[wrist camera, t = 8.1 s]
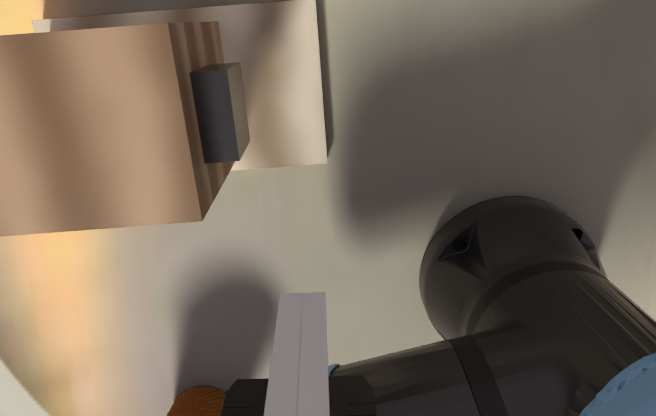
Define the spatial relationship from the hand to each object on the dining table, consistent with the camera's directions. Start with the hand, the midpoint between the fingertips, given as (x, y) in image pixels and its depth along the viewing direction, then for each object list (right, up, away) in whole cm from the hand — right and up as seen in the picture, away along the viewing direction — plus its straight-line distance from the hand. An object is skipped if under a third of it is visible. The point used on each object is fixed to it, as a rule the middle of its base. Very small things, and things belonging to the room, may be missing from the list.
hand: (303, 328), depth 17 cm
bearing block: (-10, +13, +22) cm, 27 cm away
